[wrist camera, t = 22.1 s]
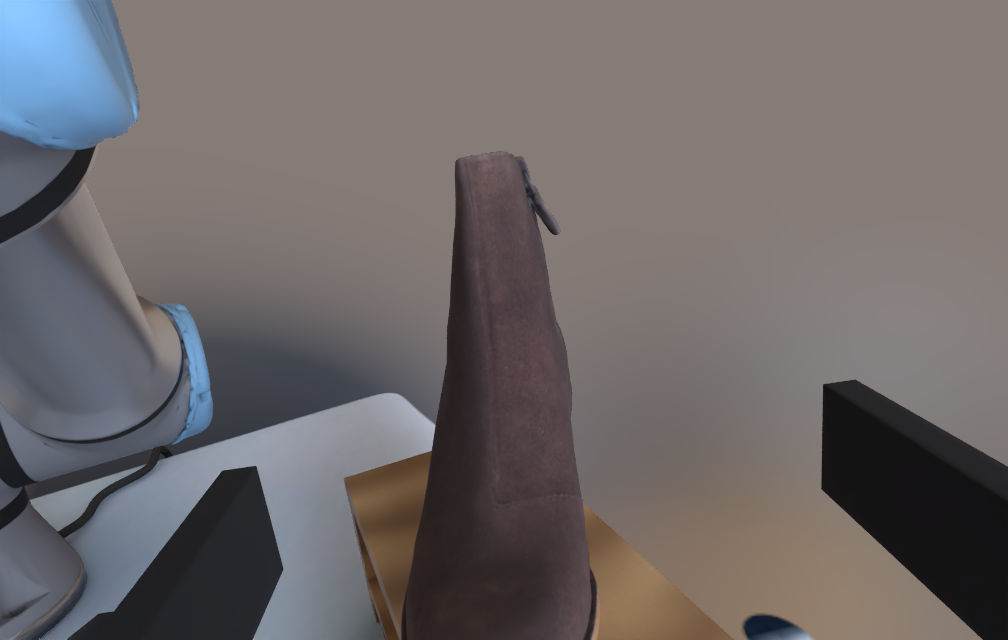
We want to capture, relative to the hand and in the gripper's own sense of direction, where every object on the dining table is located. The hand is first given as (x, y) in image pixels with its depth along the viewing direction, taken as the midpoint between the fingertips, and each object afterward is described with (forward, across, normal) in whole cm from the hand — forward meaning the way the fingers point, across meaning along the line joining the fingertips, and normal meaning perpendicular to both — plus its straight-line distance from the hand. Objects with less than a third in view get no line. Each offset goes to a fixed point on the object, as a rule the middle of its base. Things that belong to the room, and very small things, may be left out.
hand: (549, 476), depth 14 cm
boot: (+14, -2, -13) cm, 19 cm away
